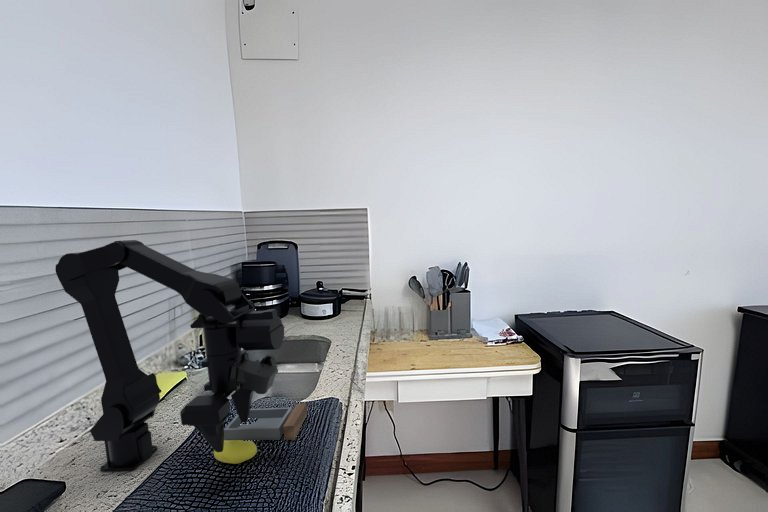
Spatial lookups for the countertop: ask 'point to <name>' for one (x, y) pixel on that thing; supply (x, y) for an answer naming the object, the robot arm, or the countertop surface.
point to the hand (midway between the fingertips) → (233, 435)
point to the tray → (259, 425)
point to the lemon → (236, 451)
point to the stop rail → (295, 421)
